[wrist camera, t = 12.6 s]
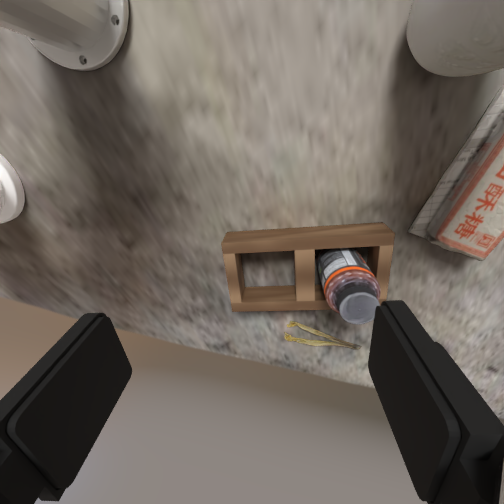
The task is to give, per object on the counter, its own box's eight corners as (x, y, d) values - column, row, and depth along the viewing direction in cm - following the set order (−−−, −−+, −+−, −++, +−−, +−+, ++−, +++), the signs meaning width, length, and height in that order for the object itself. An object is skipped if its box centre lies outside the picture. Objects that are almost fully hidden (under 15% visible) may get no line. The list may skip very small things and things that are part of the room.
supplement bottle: (365, 269, 37) (398, 322, 26) (325, 284, 38) (341, 340, 28) (351, 233, 35) (380, 276, 24) (309, 251, 36) (320, 298, 26)
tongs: (358, 349, 44) (361, 358, 42) (282, 333, 44) (282, 342, 43) (366, 330, 42) (370, 339, 40) (287, 314, 43) (287, 322, 41)
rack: (227, 232, 36) (221, 243, 33) (382, 222, 34) (395, 233, 30) (236, 295, 41) (232, 311, 37) (375, 291, 38) (385, 308, 34)
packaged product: (499, 272, 30) (422, 244, 30) (472, 254, 35) (404, 229, 34) (650, 105, 23) (549, 63, 22) (590, 109, 27) (505, 74, 26)
